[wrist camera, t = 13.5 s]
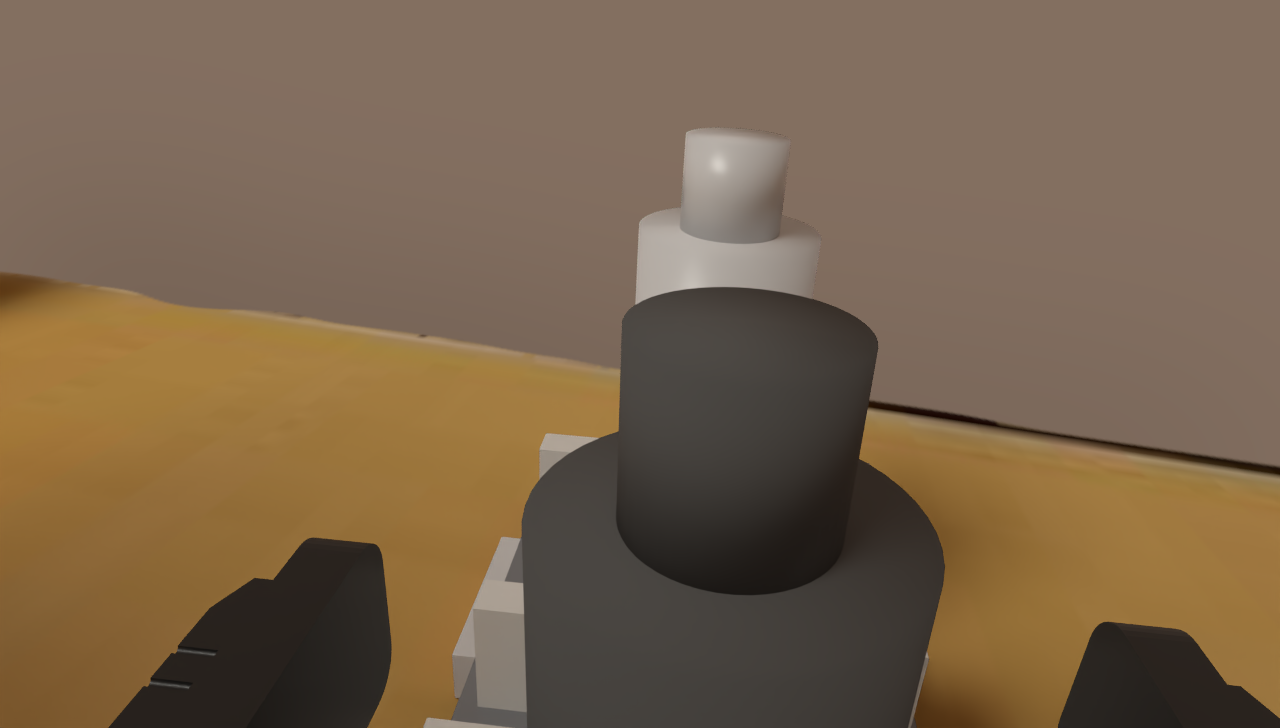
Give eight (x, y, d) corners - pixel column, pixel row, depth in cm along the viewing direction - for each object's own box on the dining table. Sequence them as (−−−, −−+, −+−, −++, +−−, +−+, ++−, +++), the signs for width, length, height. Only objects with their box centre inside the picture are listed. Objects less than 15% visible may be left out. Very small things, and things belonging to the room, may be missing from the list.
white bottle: (591, 612, 22) (603, 131, 17) (683, 548, 25) (720, 116, 19) (704, 693, 20) (762, 163, 14) (792, 612, 23) (870, 141, 17)
